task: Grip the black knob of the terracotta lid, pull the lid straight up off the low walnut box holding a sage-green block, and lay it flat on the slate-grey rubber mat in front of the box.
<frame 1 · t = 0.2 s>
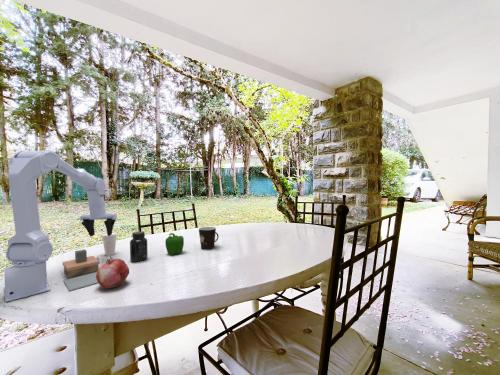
hand: (101, 235, 101), 11 cm above the table, tool pointing down, fingers open, 7 cm apart
coffee mug: (208, 249, 115), on the table
supplement bottle: (139, 260, 99), on the table
bell pepper: (174, 253, 108), on the table
smoothie: (110, 254, 108), on the table
box: (81, 272, 86), on the table
fruit: (113, 286, 74), on the table
lid: (81, 264, 86), point 3 cm above the table, touching box
mat: (88, 280, 79), on the table
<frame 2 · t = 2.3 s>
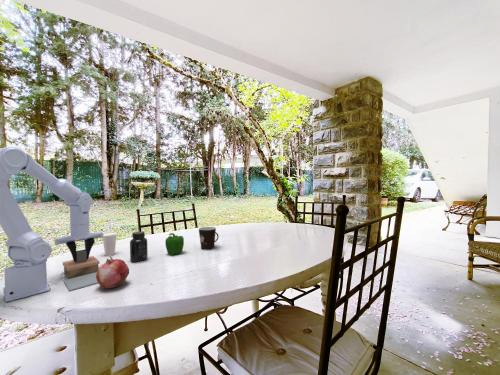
hand: (81, 260, 86), 5 cm above the table, tool pointing down, fingers closed on lid, 3 cm apart
lid: (81, 264, 86), point 3 cm above the table, touching box, gripper
everything else where it was.
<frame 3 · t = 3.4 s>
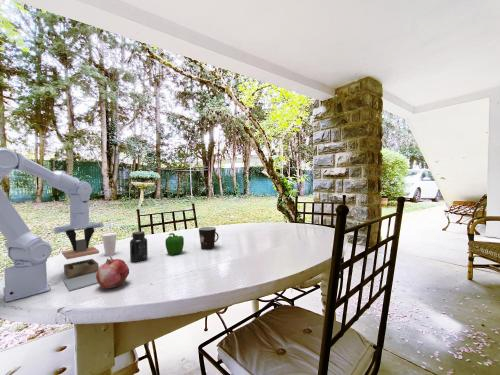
hand: (80, 249, 86), 9 cm above the table, tool pointing down, fingers closed on lid, 3 cm apart
lid: (80, 253, 86), point 7 cm above the table, touching gripper
everything else where it was.
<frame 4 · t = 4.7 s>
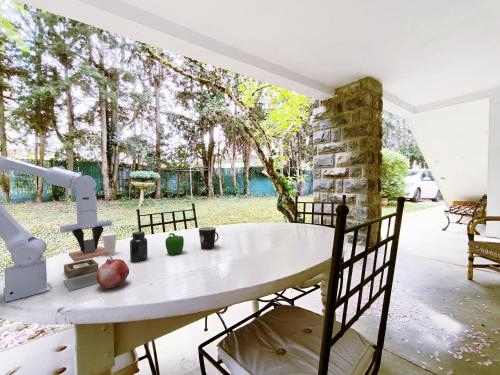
hand: (89, 249, 79), 10 cm above the table, tool pointing down, fingers closed on lid, 3 cm apart
lid: (89, 254, 79), point 9 cm above the table, touching gripper
everything else where it was.
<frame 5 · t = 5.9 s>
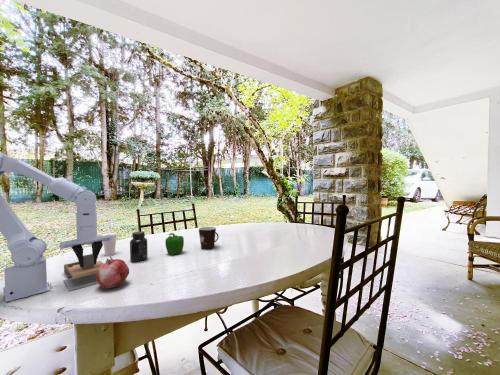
hand: (88, 265, 79), 5 cm above the table, tool pointing down, fingers closed on lid, 3 cm apart
lid: (88, 270, 79), point 3 cm above the table, touching gripper
everything else where it was.
when the fingers open (3 cm above the table, at t = 7.1 s): lid drops 1 cm, resting on mat.
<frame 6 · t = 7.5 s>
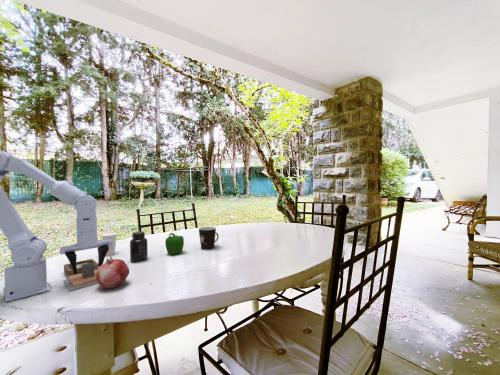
hand: (88, 270, 79), 4 cm above the table, tool pointing down, fingers open, 7 cm apart
lid: (88, 278, 79), resting on mat
everything else where it was.
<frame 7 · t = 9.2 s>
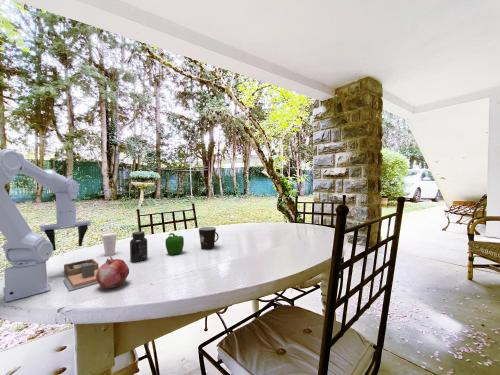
hand: (67, 247, 85), 9 cm above the table, tool pointing down, fingers open, 7 cm apart
nothing on the table moved.
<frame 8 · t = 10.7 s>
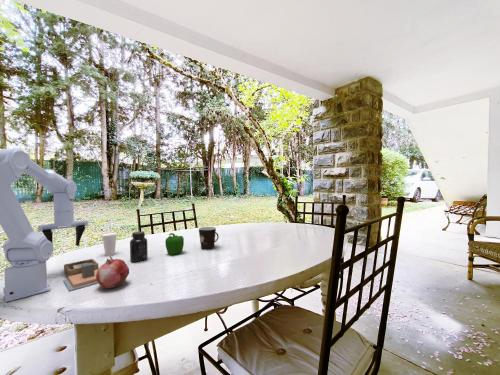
hand: (65, 247, 86), 9 cm above the table, tool pointing down, fingers open, 7 cm apart
nothing on the table moved.
at the end: lid inside the target area on the mat (0.3 cm from its centre), point 0.4 cm above the mat's base; lid tilted 0°; the gripper is holding nothing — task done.
